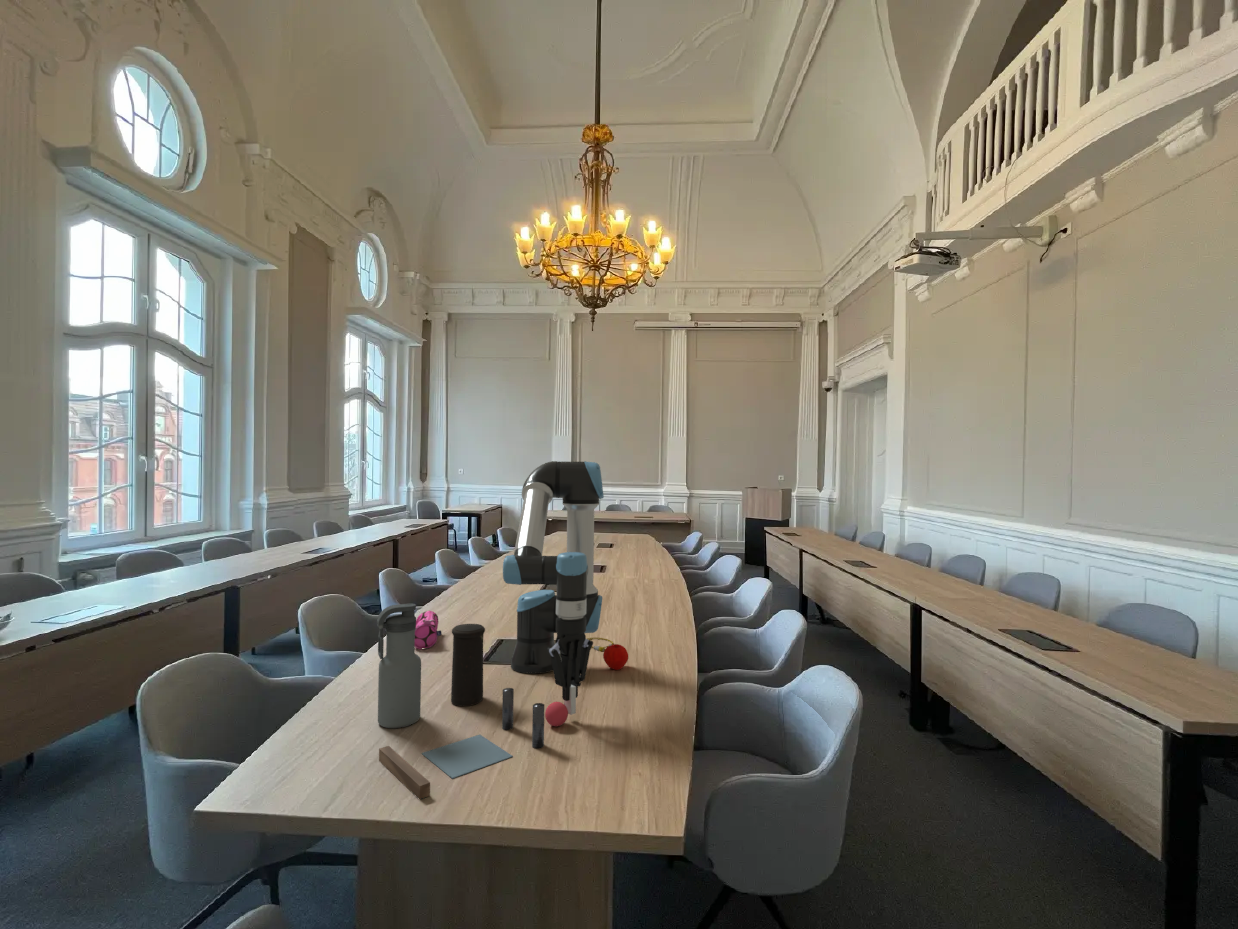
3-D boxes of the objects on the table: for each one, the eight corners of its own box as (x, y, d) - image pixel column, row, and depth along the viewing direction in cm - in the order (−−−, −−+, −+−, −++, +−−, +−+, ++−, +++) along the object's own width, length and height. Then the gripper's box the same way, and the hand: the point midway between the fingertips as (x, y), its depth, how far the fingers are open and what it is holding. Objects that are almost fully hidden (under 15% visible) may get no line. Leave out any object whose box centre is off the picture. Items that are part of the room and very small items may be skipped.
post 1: (509, 724, 143) (509, 687, 144) (515, 728, 141) (515, 690, 142) (500, 727, 142) (500, 689, 142) (505, 731, 140) (506, 692, 140)
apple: (604, 663, 190) (604, 640, 191) (628, 664, 190) (629, 641, 190) (601, 672, 182) (602, 648, 183) (627, 673, 182) (627, 648, 182)
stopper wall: (388, 757, 126) (388, 745, 126) (429, 796, 111) (430, 782, 111) (378, 760, 125) (379, 748, 125) (419, 799, 110) (419, 786, 110)
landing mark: (479, 735, 137) (479, 734, 137) (512, 757, 127) (512, 756, 127) (421, 754, 128) (421, 753, 128) (452, 779, 118) (452, 778, 118)
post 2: (539, 742, 134) (540, 702, 134) (546, 746, 132) (546, 705, 132) (529, 745, 132) (530, 705, 132) (536, 749, 130) (537, 708, 131)
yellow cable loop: (580, 653, 203) (580, 647, 203) (581, 640, 219) (581, 635, 219) (616, 653, 204) (616, 647, 204) (614, 640, 219) (614, 635, 219)
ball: (554, 694, 146) (537, 708, 143) (569, 701, 142) (552, 715, 139) (560, 712, 148) (543, 726, 144) (575, 719, 144) (558, 734, 140)
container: (490, 697, 161) (491, 622, 161) (471, 709, 153) (472, 631, 153) (462, 692, 164) (464, 620, 164) (443, 704, 155) (444, 627, 156)
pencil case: (441, 649, 205) (442, 620, 205) (411, 651, 202) (412, 622, 202) (439, 633, 225) (440, 606, 225) (412, 635, 222) (413, 608, 222)
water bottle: (377, 733, 138) (380, 612, 138) (373, 717, 147) (375, 603, 147) (423, 724, 143) (425, 608, 143) (416, 710, 151) (418, 600, 152)
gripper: (559, 623, 139) (558, 724, 139) (601, 614, 148) (599, 710, 148) (540, 617, 145) (539, 715, 144) (581, 609, 154) (580, 701, 153)
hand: (569, 712), depth 146 cm, fingers closed
